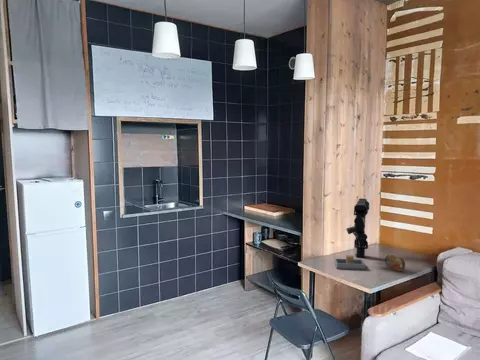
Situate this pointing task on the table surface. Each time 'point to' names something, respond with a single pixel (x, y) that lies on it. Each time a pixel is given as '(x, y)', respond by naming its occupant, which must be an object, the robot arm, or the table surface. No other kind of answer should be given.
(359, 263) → the bin
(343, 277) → the table surface
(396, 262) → the tin
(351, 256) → the block
